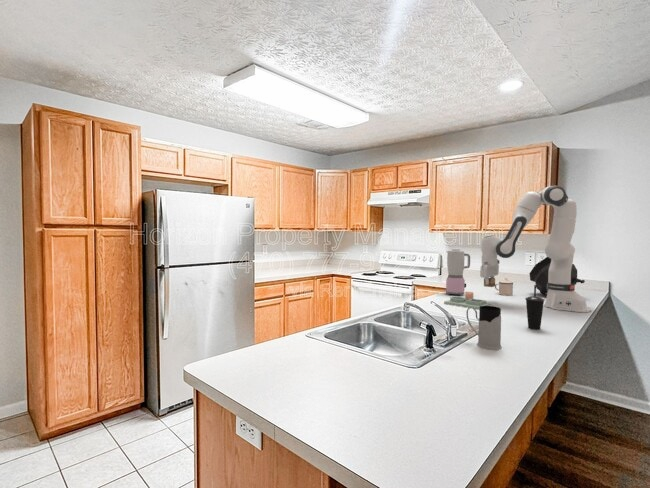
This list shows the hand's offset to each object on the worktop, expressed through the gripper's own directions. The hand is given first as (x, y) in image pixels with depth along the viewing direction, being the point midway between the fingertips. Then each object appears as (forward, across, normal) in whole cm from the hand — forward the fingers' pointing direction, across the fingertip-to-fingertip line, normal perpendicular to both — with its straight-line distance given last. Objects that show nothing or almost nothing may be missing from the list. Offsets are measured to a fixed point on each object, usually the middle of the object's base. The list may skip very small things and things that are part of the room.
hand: (489, 283), depth 222 cm
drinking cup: (+13, -45, -37) cm, 60 cm away
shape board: (+12, -17, +7) cm, 22 cm away
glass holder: (+13, -86, -30) cm, 92 cm away
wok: (+13, +56, -23) cm, 62 cm away
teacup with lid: (+12, +38, +5) cm, 40 cm away
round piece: (+12, 0, +13) cm, 17 cm away
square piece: (+2, 0, 0) cm, 2 cm away
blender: (+11, +12, +27) cm, 32 cm away
